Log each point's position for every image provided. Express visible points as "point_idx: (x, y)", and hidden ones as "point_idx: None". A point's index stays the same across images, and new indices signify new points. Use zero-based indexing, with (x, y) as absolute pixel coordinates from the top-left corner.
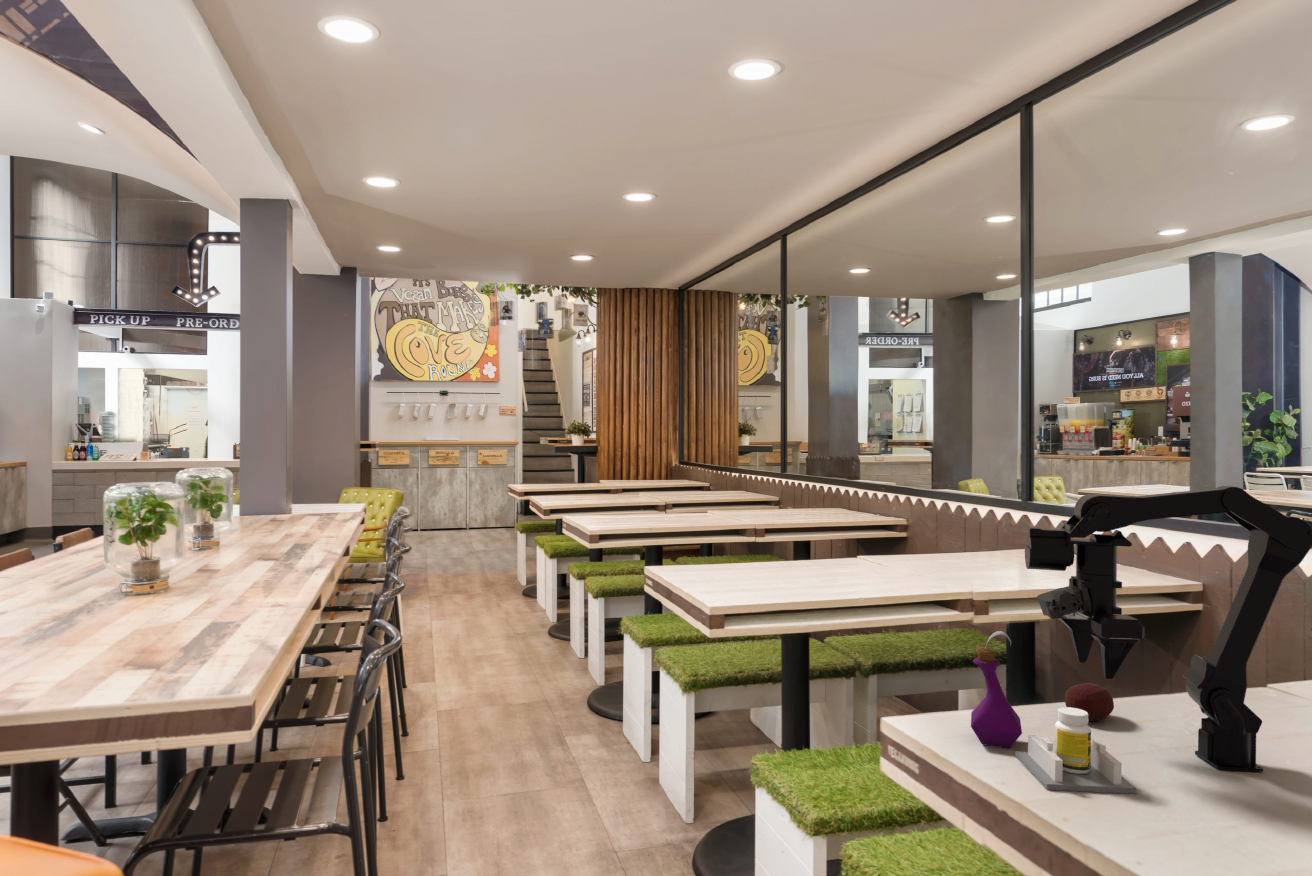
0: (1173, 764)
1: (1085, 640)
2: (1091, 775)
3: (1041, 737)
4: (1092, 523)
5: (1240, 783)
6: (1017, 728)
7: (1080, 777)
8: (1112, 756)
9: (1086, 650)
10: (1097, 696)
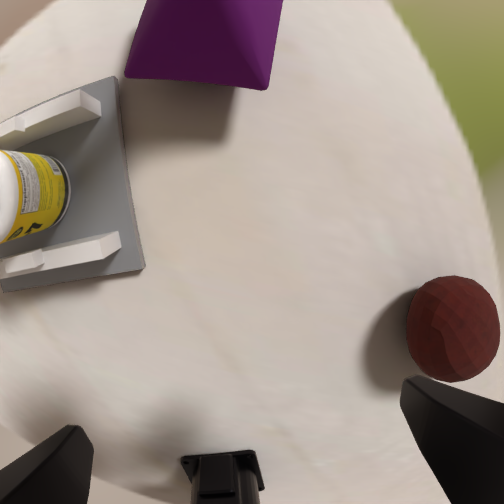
0: (184, 408)
1: (471, 487)
2: None
3: (14, 117)
4: None
5: (136, 457)
6: (128, 63)
7: None
8: (2, 277)
9: (434, 451)
10: (438, 356)
